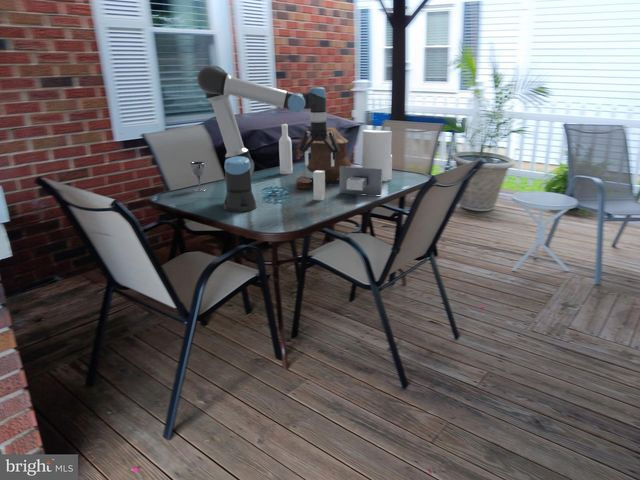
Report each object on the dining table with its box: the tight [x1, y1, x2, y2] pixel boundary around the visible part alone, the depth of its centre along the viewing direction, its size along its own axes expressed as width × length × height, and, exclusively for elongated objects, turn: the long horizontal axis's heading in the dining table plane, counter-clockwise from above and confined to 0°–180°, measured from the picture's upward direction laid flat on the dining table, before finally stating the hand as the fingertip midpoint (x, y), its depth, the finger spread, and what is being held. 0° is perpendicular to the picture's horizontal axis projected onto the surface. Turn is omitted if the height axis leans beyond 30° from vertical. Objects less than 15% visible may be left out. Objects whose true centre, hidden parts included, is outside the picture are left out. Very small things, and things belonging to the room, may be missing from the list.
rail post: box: [312, 170, 326, 201], centre depth 241 cm, size 4×4×14 cm
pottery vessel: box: [306, 127, 352, 181], centre depth 279 cm, size 26×26×30 cm
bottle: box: [278, 123, 294, 175], centre depth 299 cm, size 8×8×30 cm
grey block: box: [339, 166, 383, 196], centre depth 244 cm, size 12×22×14 cm, turn 70°
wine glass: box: [189, 160, 207, 193], centre depth 262 cm, size 8×8×15 cm
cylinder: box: [361, 129, 393, 181], centre depth 281 cm, size 17×17×28 cm
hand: (319, 165), depth 237 cm, fingers open, 13 cm apart
